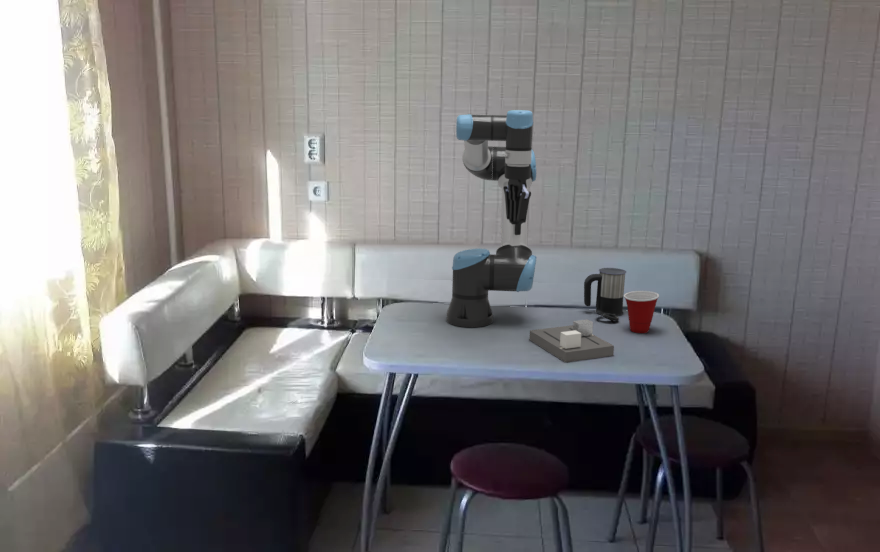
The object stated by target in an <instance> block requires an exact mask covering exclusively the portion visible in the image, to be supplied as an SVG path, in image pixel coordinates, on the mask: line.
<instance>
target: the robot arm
mask: <svg viewBox="0 0 880 552" xmlns="http://www.w3.org/2000/svg"><path fill="white" fill-rule="evenodd" d="M533 113H534V112H532V111H531V110H528V109H527V110H526V109H525V110H524V109H522V110H521V109H514V110H513V109H511V110H508V111H507V112H506V114H470V113H468V114H458V115H457V116H456V117H457V118H456V122H455V123H456V127H455V130H456V134H455V135H456V136H455V137H456V139H457V140H458V141H463V145H464V150H463V152H462V158H461V159H462V162H463V163H462V164H463V166H464V168H465V169H466V170H467V171H468V172H469V173H470V174H472V175H473V176H475V177H476V178H479V179H481V180H486V181H496V182H497V185H498V187H499V188H500V189H501V223H500V225H501V226H500V229H501V233H500V246H499V247H497V249H496V251H495V254H492V253H491V252H490V250H489V249H487V248H470V249H465V250H460V251H458V252H457V253H455V254H454V255H453V259H452V266H451V269H452V284H451V285H452V289H451V290H452V291H451V292H452V293H451V295H452V296H451V300H450V302H449V305H448V308H447V311H446V322H447V323H448V324H450V325H452V326H455V327H461V328H480V327H481V328H482V327H486V326H490V325H491V324H492V323H493V322H494V315H493V311H492V307H491V304H490V301H489V291H491V292H493V291H495V292H517V293H519V292H529V291H531V290H532V289H533V284H534V278H535V271H536V264H537V258H538V257H537V256H536V255H535V254H533V250H532V249H531V248H530V247H529V246H528V210H529V209H528V208H529V203H530V198H531V196H532V192H531V191H529V190H528V189H529V188H530V187H531V186H532V184H533V182H535V181H537V180H536V179H537V162H536V155H535V152H534V150H533V149H532V144H533V143H532V142H533V129H534V128H533V126H534V118H533V116H534V114H533ZM492 141H493V142H494V141H495V142H505V146H489V142H492Z"/></svg>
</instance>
